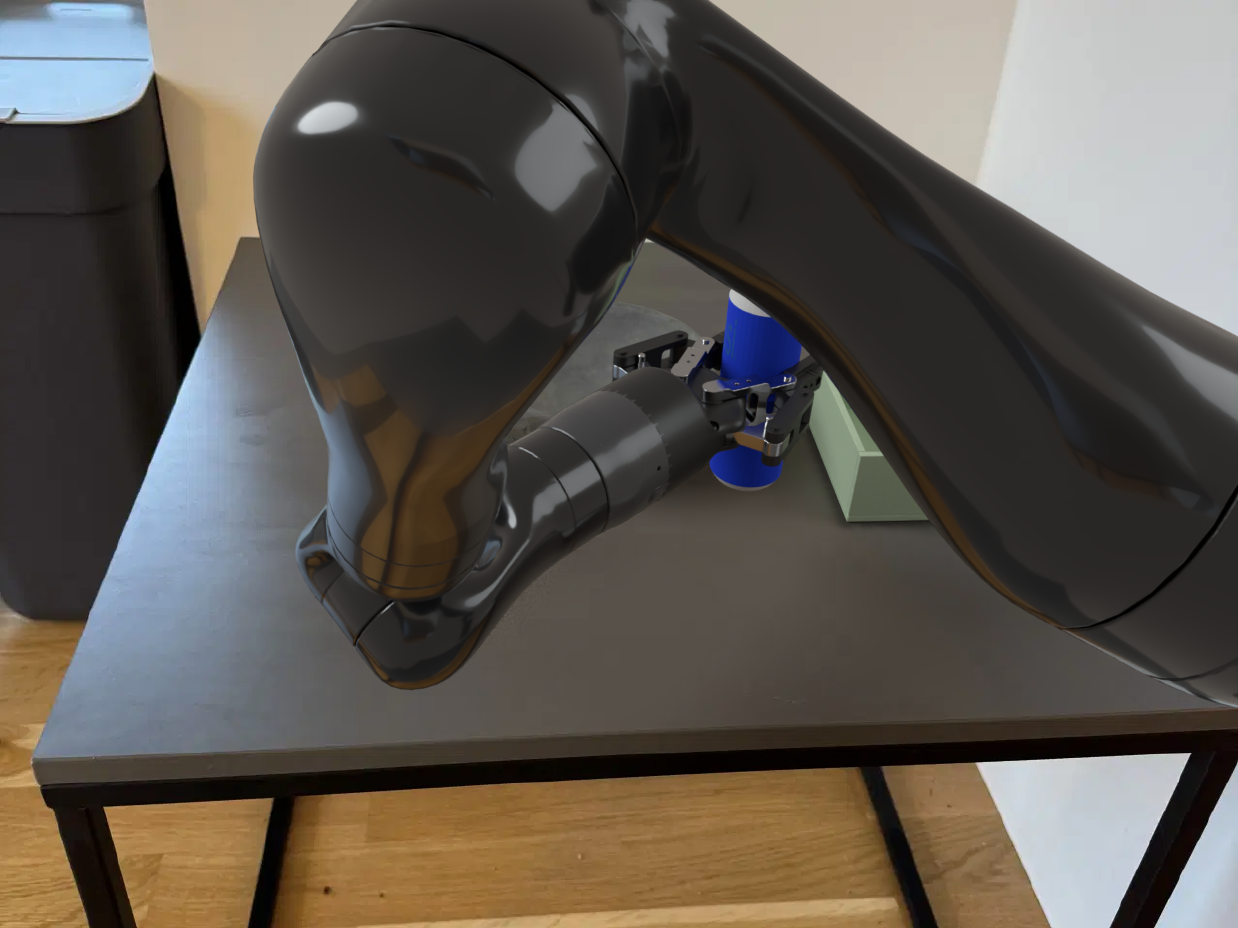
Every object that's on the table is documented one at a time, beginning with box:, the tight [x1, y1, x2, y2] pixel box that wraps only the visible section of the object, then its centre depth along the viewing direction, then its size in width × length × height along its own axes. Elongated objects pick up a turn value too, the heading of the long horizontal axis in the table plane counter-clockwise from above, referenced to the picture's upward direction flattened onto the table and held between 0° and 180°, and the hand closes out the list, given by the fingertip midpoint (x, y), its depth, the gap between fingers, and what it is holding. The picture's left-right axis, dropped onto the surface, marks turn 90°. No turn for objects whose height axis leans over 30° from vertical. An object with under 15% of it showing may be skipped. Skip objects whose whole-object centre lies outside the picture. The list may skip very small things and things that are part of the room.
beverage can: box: [709, 288, 803, 492], centre depth 75 cm, size 5×5×15 cm
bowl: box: [507, 300, 717, 441], centre depth 96 cm, size 21×21×8 cm
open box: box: [808, 371, 929, 523], centre depth 95 cm, size 16×16×7 cm
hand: (781, 352), depth 76 cm, fingers closed on beverage can, 5 cm apart
